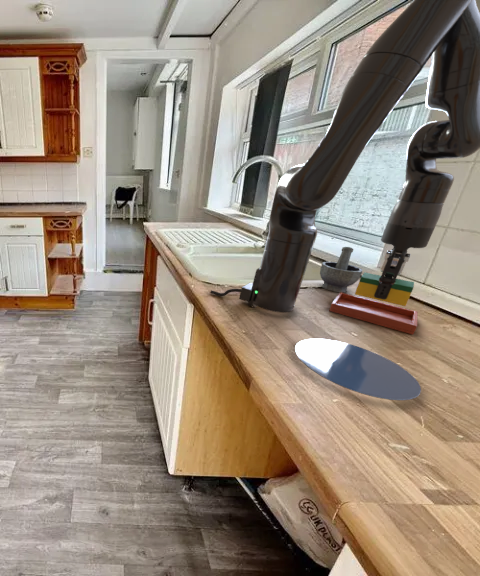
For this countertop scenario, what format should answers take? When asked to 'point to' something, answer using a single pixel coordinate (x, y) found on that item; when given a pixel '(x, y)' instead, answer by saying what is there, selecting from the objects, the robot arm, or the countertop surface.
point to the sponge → (396, 295)
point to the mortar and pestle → (340, 272)
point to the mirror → (357, 369)
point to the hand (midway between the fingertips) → (381, 294)
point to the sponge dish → (375, 312)
